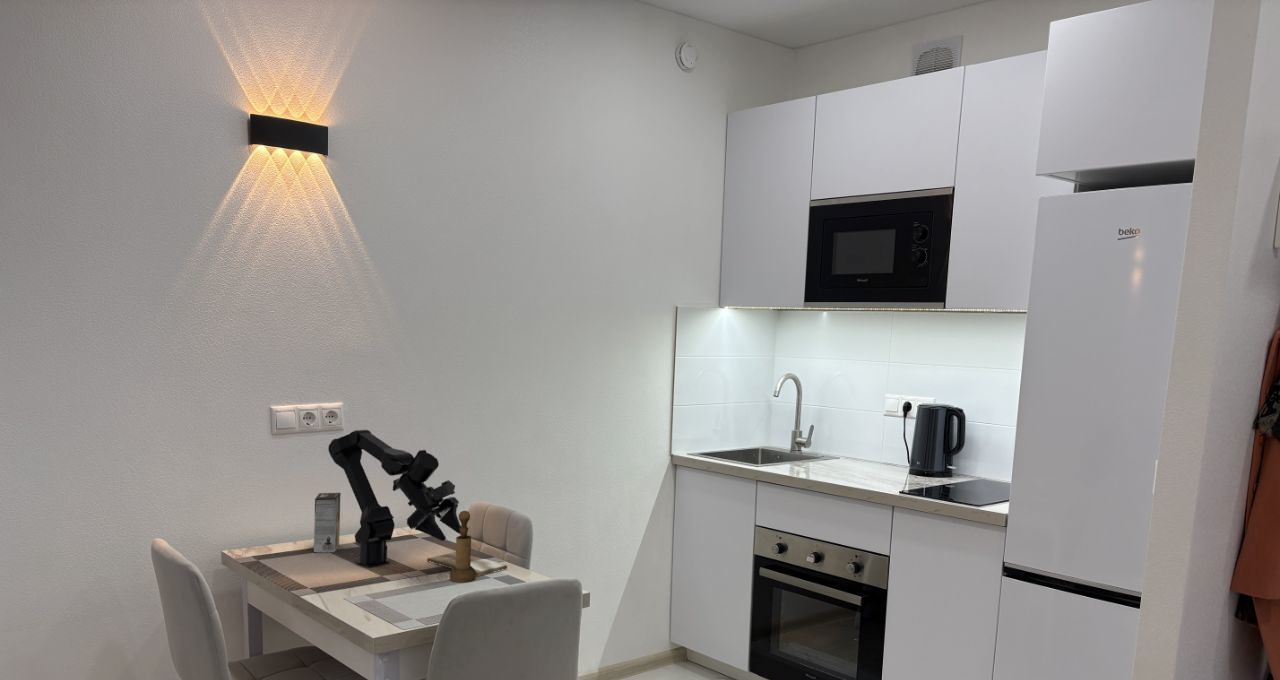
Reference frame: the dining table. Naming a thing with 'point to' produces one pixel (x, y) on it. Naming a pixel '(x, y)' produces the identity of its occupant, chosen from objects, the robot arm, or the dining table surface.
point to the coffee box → (327, 522)
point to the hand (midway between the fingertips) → (453, 536)
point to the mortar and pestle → (463, 553)
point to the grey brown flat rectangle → (477, 563)
